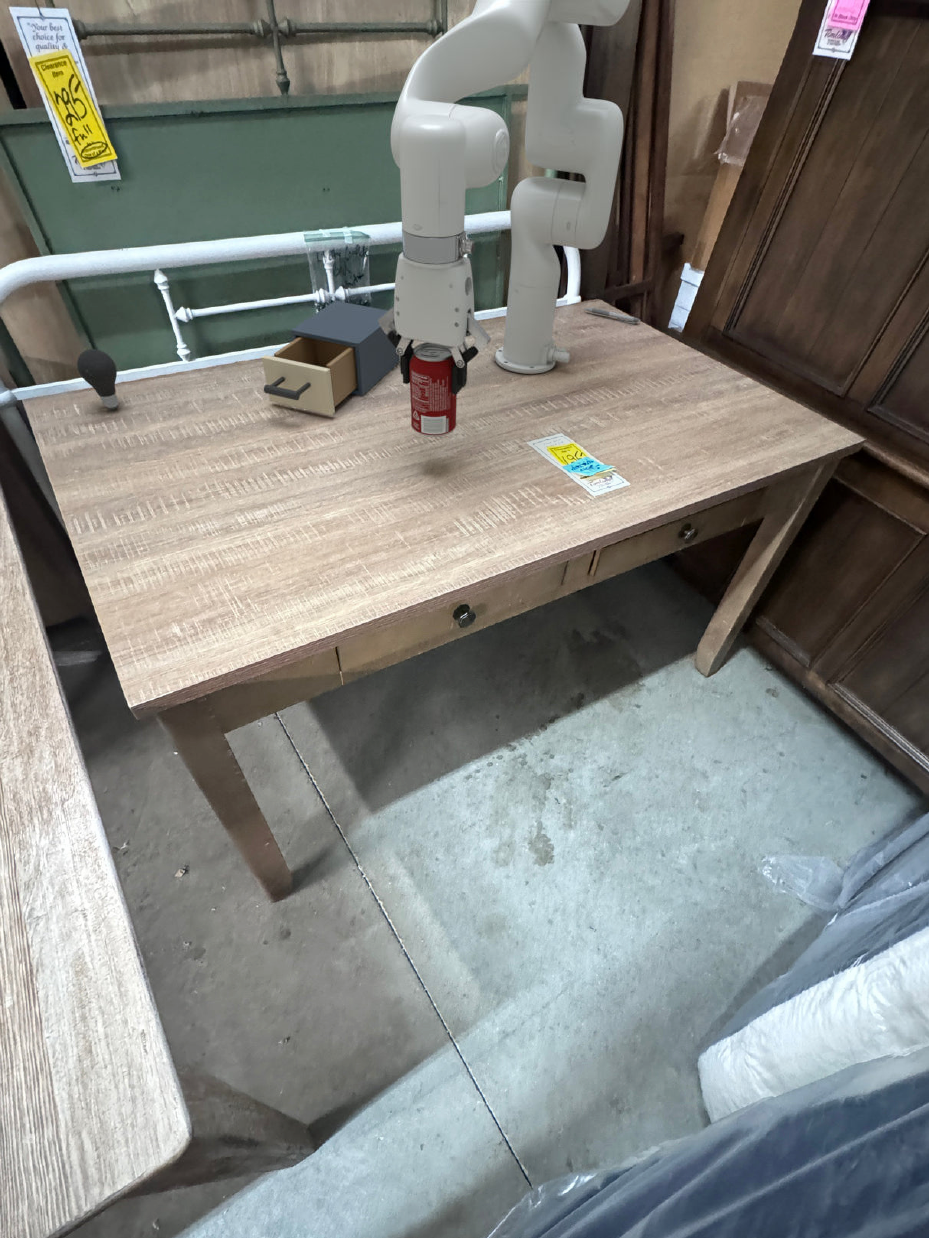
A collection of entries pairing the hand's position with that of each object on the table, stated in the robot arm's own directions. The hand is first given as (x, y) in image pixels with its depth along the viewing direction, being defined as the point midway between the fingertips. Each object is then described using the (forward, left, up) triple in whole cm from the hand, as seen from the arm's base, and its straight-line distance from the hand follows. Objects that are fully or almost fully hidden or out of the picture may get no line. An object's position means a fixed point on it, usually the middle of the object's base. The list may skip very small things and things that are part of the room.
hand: (433, 384), depth 88 cm
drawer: (+28, -12, -13) cm, 33 cm away
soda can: (0, 0, -7) cm, 7 cm away
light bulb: (+58, +6, -14) cm, 60 cm away
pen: (-14, -78, -14) cm, 81 cm away
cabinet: (+28, -25, -14) cm, 40 cm away
